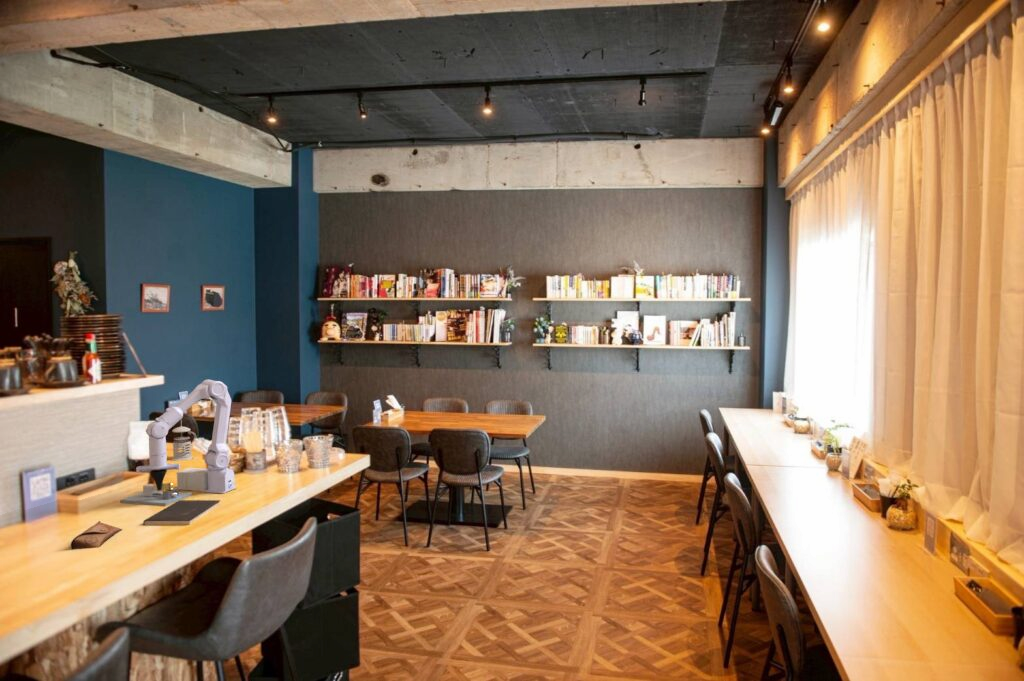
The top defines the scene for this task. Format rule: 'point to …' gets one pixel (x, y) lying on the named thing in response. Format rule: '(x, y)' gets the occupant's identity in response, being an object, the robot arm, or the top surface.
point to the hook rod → (149, 491)
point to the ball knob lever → (164, 486)
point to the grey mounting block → (168, 493)
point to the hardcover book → (182, 512)
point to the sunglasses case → (94, 536)
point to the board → (154, 499)
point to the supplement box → (192, 479)
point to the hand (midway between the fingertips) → (159, 489)
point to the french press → (182, 445)
